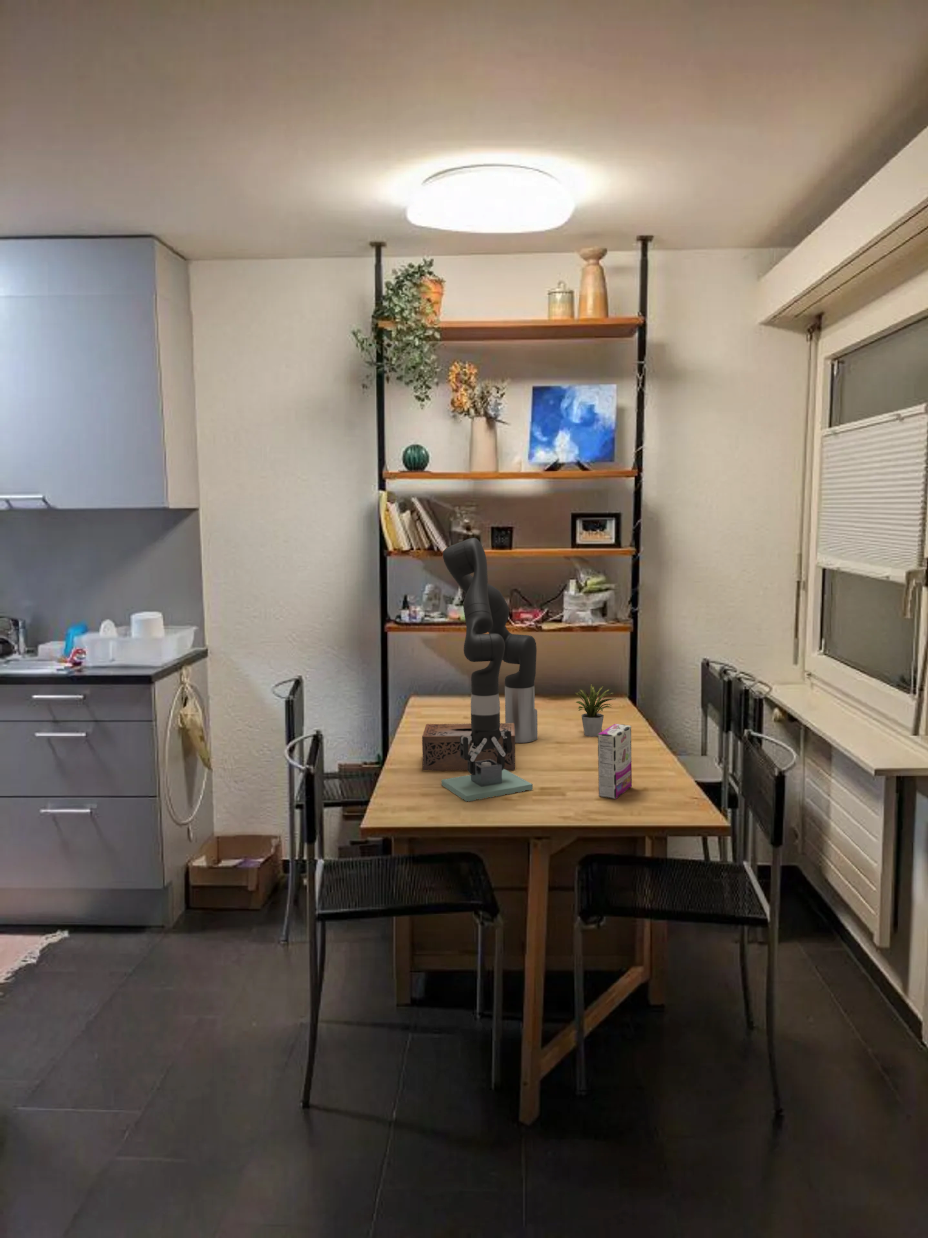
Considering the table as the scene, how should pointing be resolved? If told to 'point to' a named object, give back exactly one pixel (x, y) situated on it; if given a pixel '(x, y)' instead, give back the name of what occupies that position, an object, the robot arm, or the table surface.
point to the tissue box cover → (458, 747)
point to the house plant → (592, 712)
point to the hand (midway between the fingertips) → (486, 772)
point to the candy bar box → (614, 761)
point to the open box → (487, 773)
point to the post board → (473, 791)
